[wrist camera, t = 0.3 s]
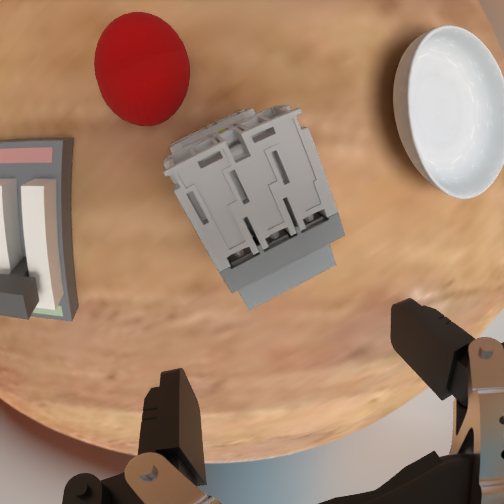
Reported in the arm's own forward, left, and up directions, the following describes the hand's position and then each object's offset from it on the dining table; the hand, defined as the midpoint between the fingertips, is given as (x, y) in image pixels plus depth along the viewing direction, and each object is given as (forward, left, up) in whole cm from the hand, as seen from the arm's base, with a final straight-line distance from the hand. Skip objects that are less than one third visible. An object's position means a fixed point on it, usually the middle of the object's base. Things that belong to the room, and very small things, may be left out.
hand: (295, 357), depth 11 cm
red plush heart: (-11, -8, -23) cm, 27 cm away
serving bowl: (-16, +25, -23) cm, 37 cm away
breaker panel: (+5, -28, -23) cm, 36 cm away
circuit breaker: (-1, +2, -23) cm, 23 cm away
